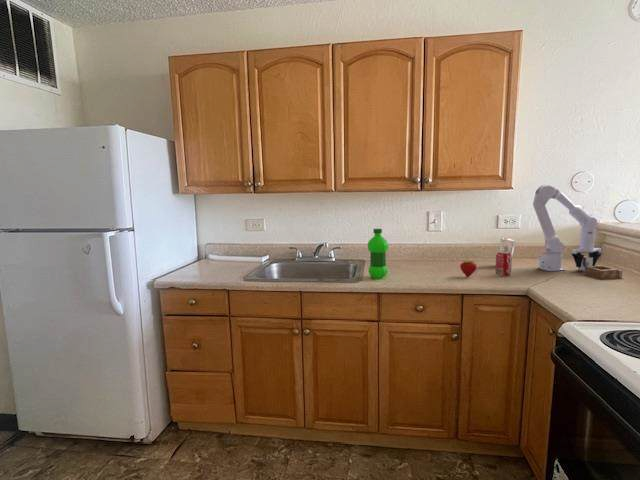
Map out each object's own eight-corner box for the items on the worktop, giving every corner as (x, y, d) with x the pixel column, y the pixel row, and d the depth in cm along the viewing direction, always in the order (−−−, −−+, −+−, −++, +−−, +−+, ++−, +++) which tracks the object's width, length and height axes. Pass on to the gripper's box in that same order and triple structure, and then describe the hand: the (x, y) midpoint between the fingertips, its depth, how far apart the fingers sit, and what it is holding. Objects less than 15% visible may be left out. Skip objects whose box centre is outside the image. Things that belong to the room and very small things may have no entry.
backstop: (618, 278, 165) (619, 270, 165) (599, 272, 175) (600, 265, 175) (621, 277, 166) (622, 270, 165) (602, 272, 175) (603, 265, 175)
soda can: (510, 274, 179) (511, 250, 177) (511, 277, 172) (512, 253, 170) (495, 273, 182) (496, 250, 180) (495, 276, 175) (496, 252, 173)
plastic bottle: (371, 274, 188) (370, 227, 184) (390, 276, 183) (390, 228, 179) (365, 279, 179) (364, 230, 175) (385, 281, 174) (385, 230, 170)
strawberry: (475, 279, 172) (476, 259, 170) (459, 277, 175) (459, 258, 174) (476, 276, 177) (477, 256, 175) (460, 275, 180) (461, 255, 179)
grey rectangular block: (584, 271, 179) (585, 258, 178) (578, 269, 183) (579, 256, 181) (591, 271, 179) (593, 257, 178) (585, 269, 183) (586, 255, 182)
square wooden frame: (600, 279, 165) (601, 270, 164) (584, 274, 174) (584, 266, 173) (618, 277, 166) (618, 269, 165) (600, 273, 175) (601, 265, 174)
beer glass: (514, 265, 195) (516, 238, 193) (510, 268, 190) (512, 240, 188) (501, 264, 200) (502, 237, 198) (497, 266, 195) (498, 239, 193)
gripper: (580, 242, 174) (578, 269, 176) (607, 240, 175) (605, 267, 177) (569, 240, 181) (567, 266, 183) (595, 238, 182) (592, 264, 184)
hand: (585, 266), depth 181 cm, fingers open, 7 cm apart
